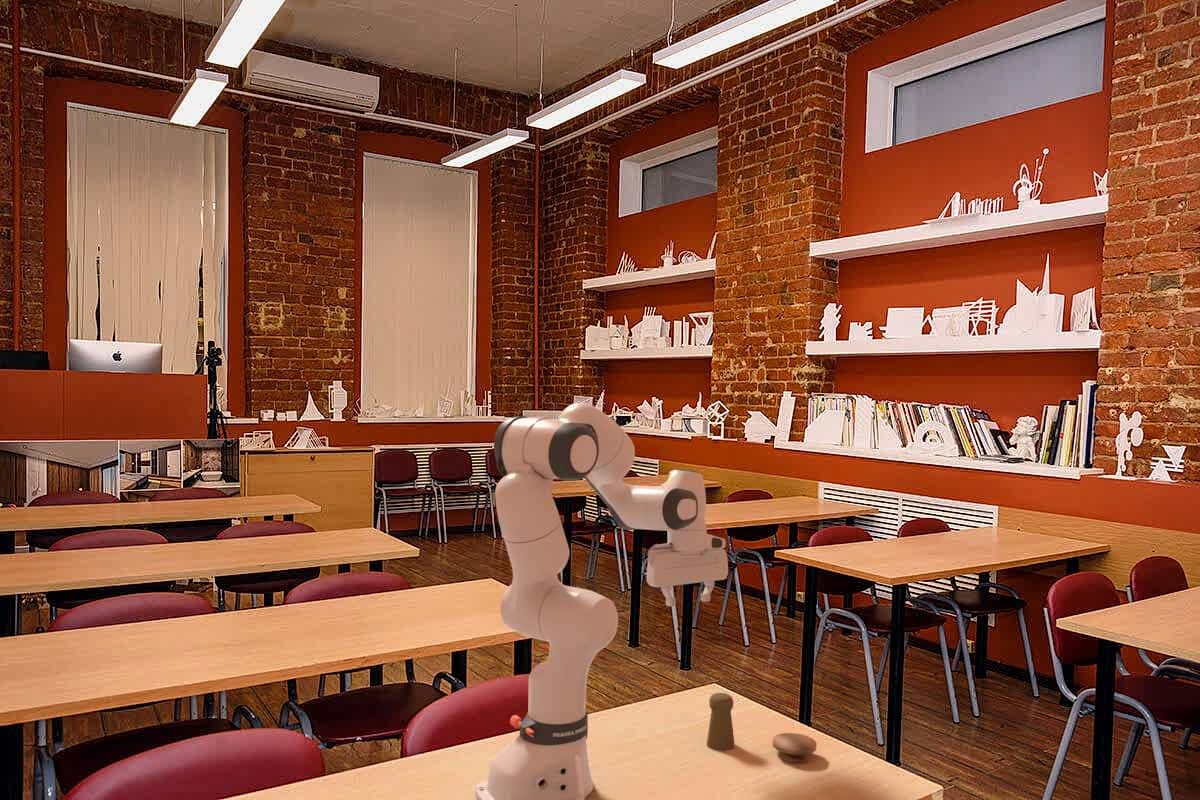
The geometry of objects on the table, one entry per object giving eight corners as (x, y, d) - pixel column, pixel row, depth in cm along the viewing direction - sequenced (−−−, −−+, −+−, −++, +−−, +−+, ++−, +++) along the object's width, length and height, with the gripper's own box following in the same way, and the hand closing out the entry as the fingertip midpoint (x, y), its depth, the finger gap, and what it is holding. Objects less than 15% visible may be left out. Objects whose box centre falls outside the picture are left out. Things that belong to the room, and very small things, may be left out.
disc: (793, 769, 175) (793, 754, 175) (763, 752, 183) (763, 738, 183) (825, 759, 180) (825, 745, 180) (795, 744, 188) (795, 729, 187)
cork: (734, 752, 183) (734, 700, 183) (705, 749, 184) (706, 698, 184) (735, 740, 189) (736, 690, 189) (707, 738, 190) (708, 688, 190)
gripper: (655, 546, 187) (657, 610, 186) (731, 539, 197) (732, 600, 196) (640, 543, 192) (641, 606, 192) (714, 537, 202) (715, 596, 202)
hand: (688, 603), depth 194 cm, fingers open, 8 cm apart
